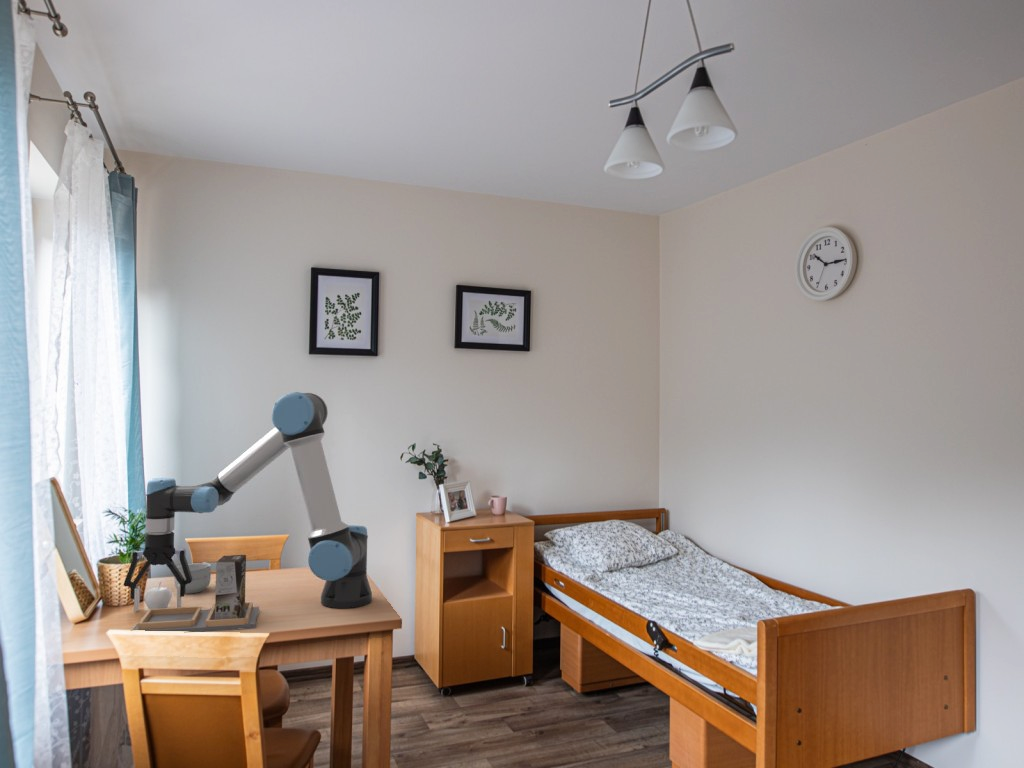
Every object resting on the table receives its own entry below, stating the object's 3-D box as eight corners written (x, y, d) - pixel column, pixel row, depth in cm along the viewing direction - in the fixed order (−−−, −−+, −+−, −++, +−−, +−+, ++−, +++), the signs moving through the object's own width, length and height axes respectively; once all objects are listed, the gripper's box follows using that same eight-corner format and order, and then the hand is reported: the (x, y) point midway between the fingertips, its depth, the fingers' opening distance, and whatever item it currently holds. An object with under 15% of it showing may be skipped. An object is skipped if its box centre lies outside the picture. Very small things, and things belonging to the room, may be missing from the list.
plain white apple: (175, 609, 211) (176, 581, 211) (150, 614, 205) (151, 586, 205) (164, 605, 215) (165, 577, 215) (140, 610, 210) (140, 582, 210)
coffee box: (238, 621, 197) (240, 561, 198) (213, 621, 196) (215, 561, 197) (245, 611, 206) (247, 554, 207) (221, 612, 205) (223, 554, 206)
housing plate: (258, 610, 211) (259, 601, 211) (254, 627, 195) (254, 618, 195) (145, 616, 203) (145, 607, 203) (130, 635, 187) (131, 626, 187)
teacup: (193, 597, 224) (193, 571, 224) (165, 593, 227) (165, 568, 228) (224, 586, 237) (225, 561, 237) (197, 583, 241) (198, 559, 241)
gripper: (204, 528, 217) (202, 603, 217) (119, 531, 211) (117, 607, 211) (200, 533, 210) (198, 610, 210) (112, 535, 204) (110, 615, 204)
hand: (157, 609), depth 210 cm, fingers open, 10 cm apart
